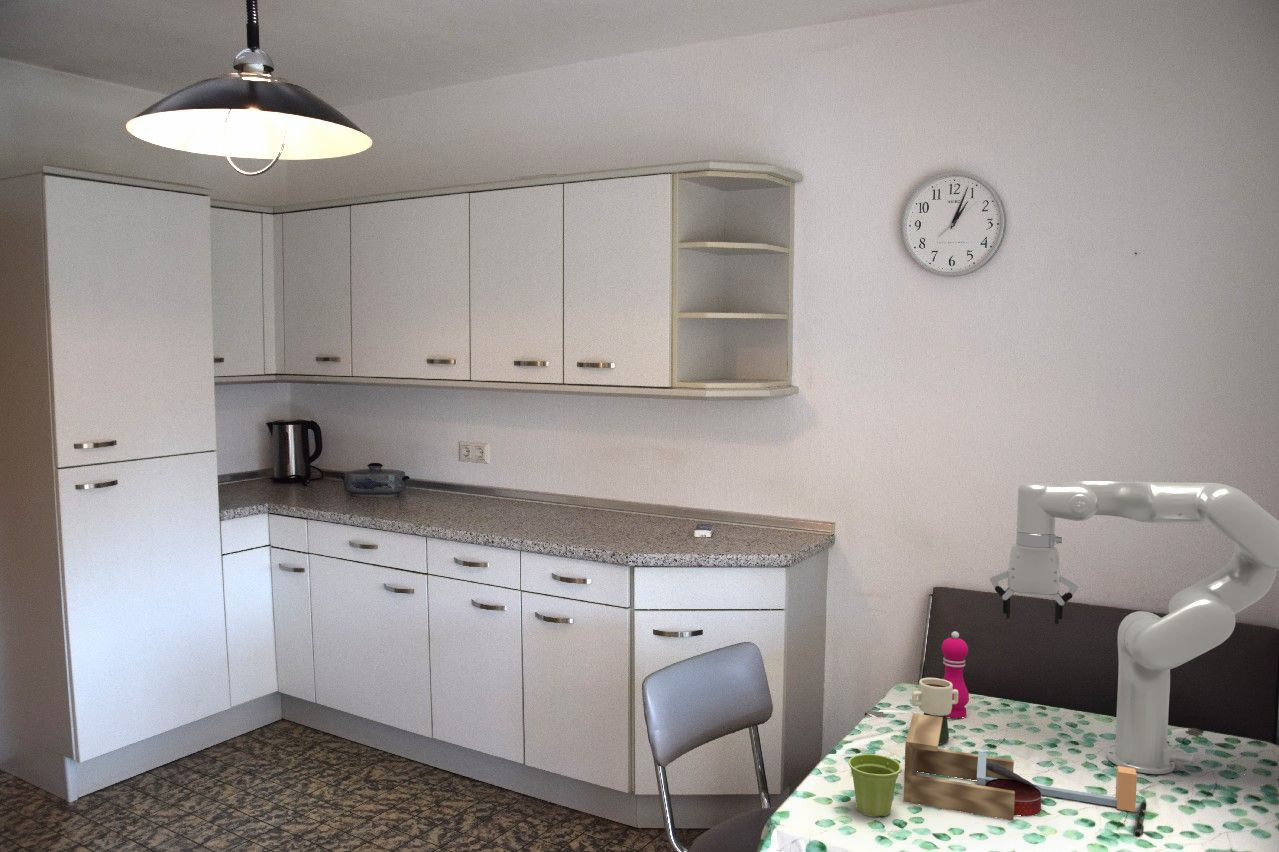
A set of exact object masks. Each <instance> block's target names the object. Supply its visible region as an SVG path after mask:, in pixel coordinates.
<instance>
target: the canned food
mask: <svg viewBox="0 0 1279 852" xmlns="http://www.w3.org/2000/svg"><path fill="white" fill-rule="evenodd" d="M986 768H987V769H988V770H990V771H992V772H994V773H996V774H999V775H1002V776H1004V777H1007V778H1010V779H1003V778H1001V779H993V780H990V781H988V782H987V783H986V785H985V786H987V787H993V788H999V789H1005V790H1011V791H1015V799H1014V815H1021V816H1020V817H1032V815H1034V816H1036V815H1035V814H1037V815H1038V814H1040V813H1041V812H1040V811H1042V797H1043V795H1042V793H1041V791H1040V790H1039V789H1038V788H1040V787H1038V786H1036V785H1037V784H1035V785H1034V783H1032V782H1031V781H1029V780H1027V779H1026V778H1023V777H1022V776H1021V775H1019V774H1018V773H1015V772H1014V771H1013V772H1012V771H1010V770H1009V769H1007V768H1006V767H1004V766H1002V765H1000V764H997V763H992V762H988V763H987V764H986ZM1036 787H1038V788H1036Z"/></svg>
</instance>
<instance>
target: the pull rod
mask: <svg viewBox="0 0 1279 852" xmlns="http://www.w3.org/2000/svg"><path fill="white" fill-rule="evenodd" d="M977 755H978V766H977V782H976V784H975V785H981V786H985V785H986V783H987V782H988V781H990V780H993V779H998V778H992V777H986V756H988V755H987V752H982V751H978V752H977ZM1115 777H1116V781H1115V784H1116V785H1115V796H1111V795H1103V794H1098V793H1092V792H1091V793H1090V792H1084V791H1079V790H1072V789H1066V788H1059V787H1053V786H1047V785H1041V784H1034V783H1033V784H1034V785H1036V786H1038V787H1040V788H1038V787H1036V788H1038V789H1039V790H1040V791H1041V793H1042V796H1048V797H1055V798H1060V799H1061V798H1062V799H1068V800H1074V801H1080V802H1085V803H1092V804H1099V805H1103V806H1104V805H1105V806H1111V807H1116V809H1117V810H1121V811H1128V812H1132V813H1133V812H1134V813H1136V806H1137V805H1136V804H1137V802H1136V801H1137V782H1138V772H1136V771H1135V769H1134V768H1127V767H1121V766H1118V765H1116V776H1115Z"/></svg>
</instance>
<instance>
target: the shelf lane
mask: <svg viewBox="0 0 1279 852" xmlns="http://www.w3.org/2000/svg"><path fill="white" fill-rule="evenodd" d="M942 722H943V717H937V716H930V715H923V713H915V712H914V713H912V717H911V720H910V723H909V727H908V730H907V731H908V732H907V735H906V739H905V744H904V745H905V747H904V748H905V749H904V751H905V752H904V774H903V775H904V777H903V801H902V802H904V803H907V802H908V803H909V804H914V805H919V804H920V805H921V806H926V807H930V808H931V807H932V808H937V809H942V810H948V811H949V810H950V811H954V812H959V811H961V812H960V813H965V812H966V813H965V814H971V813H973V814H972V815H977V814H979V815H978V816H982V815H984V816H983V817H988V816H990V817H989V818H994V817H997V818H996V819H1000V818H1003V819H1002V820H1005V819H1008V820H1007V821H1011V820H1013V821H1012V822H1014V821H1015V819H1014V818H1015V816H1014V799H1015V791H1011V790H1005V789H999V788H993V787H987V786H981V785H976V784H973V783H967V782H962V781H961V782H960V781H954V780H948V779H945V778H943V779H942V778H936V777H930V776H925V775H920V774H919V775H918V774H917V773H920V772H924V773H923V774H926V773H929V774H928V775H932V774H936V775H935V776H939V775H942V776H941V777H945V776H947V778H951V777H957V778H963V779H971V780H977V766H978V753H977V754H975V753H970V752H969V753H968V752H963V751H956V750H949V749H943V748H939V744H940V743H939V739H940V734H941V728H942ZM988 762H992V763H997V764H1000V765H1002V766H1004V767H1006V768H1007V769H1009V770H1010V771H1012V772H1014V770H1015V769H1014V767H1015V766H1014V764H1015V761H1014V759H1009V758H1003V757H998V756H997V757H996V756H989V755H986V764H987V763H988ZM917 771H918V772H917ZM948 776H949V777H948ZM986 777H992V778H998V779H1001V778H1003V779H1010V778H1007V777H1004V776H1002V775H999V774H996V773H994V772H992V771H990V770H988V769H987V768H986ZM957 778H956V779H957ZM963 779H962V780H963ZM908 803H907V804H908Z"/></svg>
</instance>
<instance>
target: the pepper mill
mask: <svg viewBox="0 0 1279 852" xmlns="http://www.w3.org/2000/svg"><path fill="white" fill-rule="evenodd" d="M950 634H951V635H950V636H951V637H947V638H946V639H944V640H943V642H942V644H941V652H942V654H943V655H944V656H943V662H942V663H943V664H944V667H945V668H944V669H945V670H944V676H943V678H942V679H943V680H947V681H949V682H951V683H952V685H953V690H954V689H956V690H958V703H957V704H952V710H951V713H950V714H948V715H946V717H950V718H962V717H965V716H966V717H967V708H966V707H965V706H967V705H968V704H969V701H970V696H969V694H970V693H969V690H968V688H967V686H966V683H965V680H964V672H963V671H964V667H965V666H966V659H965V658H966V657H967V655H968V654H969V647H968V645H967V643H966V641H965V640H963V639H962V638H959V637H960V633H959V632H958V631H955V630H954V631H952V632H951V633H950ZM952 700H954V694H952ZM966 717H965V718H966ZM950 718H949V719H950Z"/></svg>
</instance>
